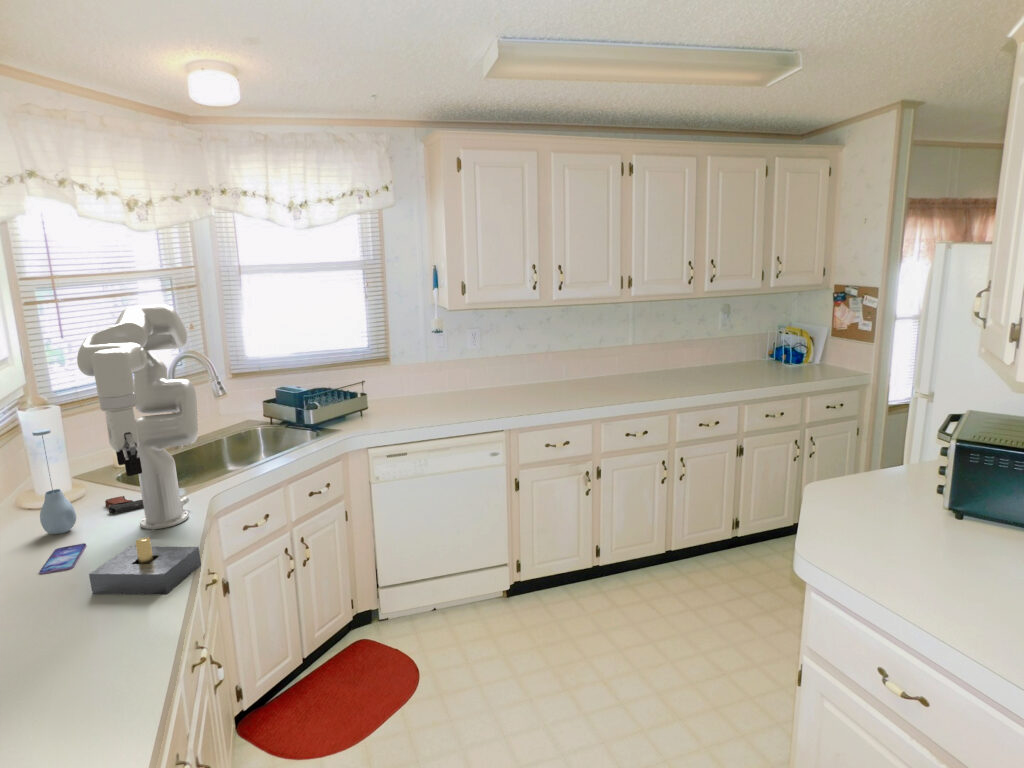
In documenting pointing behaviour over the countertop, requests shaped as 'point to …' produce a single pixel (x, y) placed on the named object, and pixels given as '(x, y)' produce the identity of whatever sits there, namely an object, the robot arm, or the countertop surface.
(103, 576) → the block
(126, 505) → the handgun
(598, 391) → the countertop surface
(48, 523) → the pendant light
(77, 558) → the smartphone
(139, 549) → the brass pin
